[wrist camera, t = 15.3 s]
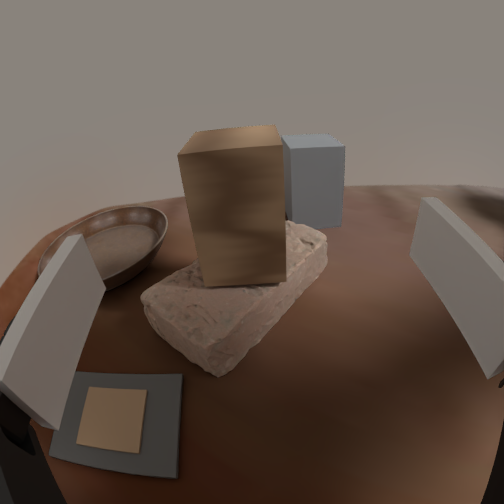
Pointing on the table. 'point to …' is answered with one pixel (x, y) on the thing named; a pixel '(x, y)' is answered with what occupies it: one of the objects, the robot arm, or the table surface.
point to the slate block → (313, 179)
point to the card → (122, 423)
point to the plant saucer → (117, 242)
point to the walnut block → (236, 204)
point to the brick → (231, 305)
